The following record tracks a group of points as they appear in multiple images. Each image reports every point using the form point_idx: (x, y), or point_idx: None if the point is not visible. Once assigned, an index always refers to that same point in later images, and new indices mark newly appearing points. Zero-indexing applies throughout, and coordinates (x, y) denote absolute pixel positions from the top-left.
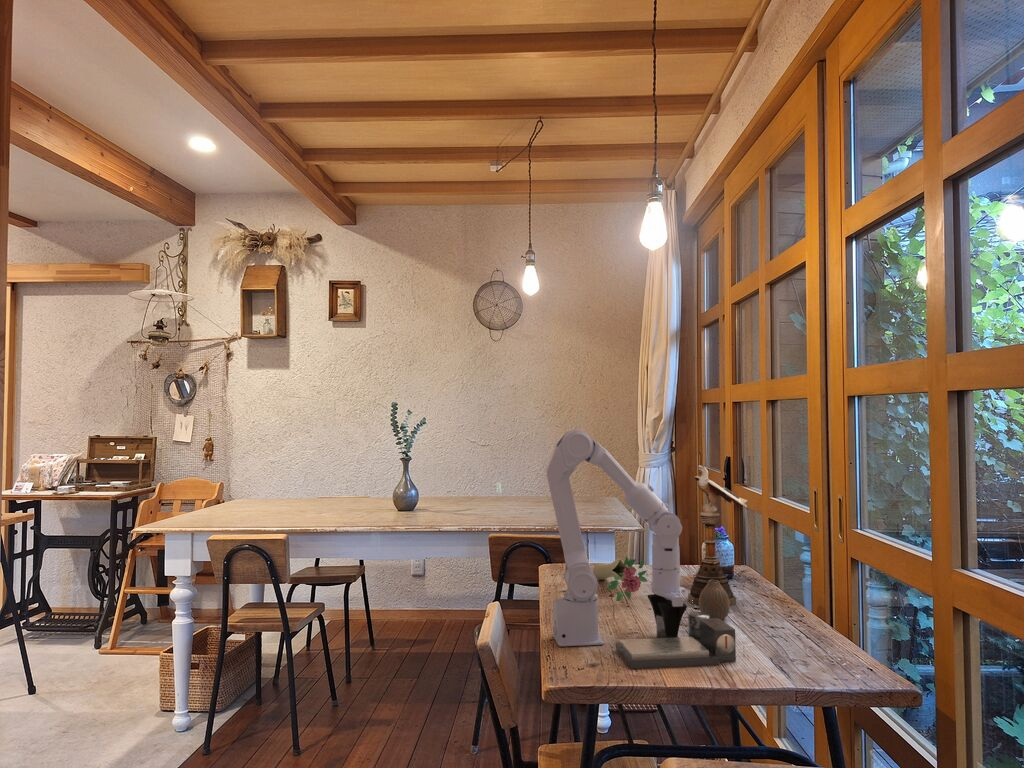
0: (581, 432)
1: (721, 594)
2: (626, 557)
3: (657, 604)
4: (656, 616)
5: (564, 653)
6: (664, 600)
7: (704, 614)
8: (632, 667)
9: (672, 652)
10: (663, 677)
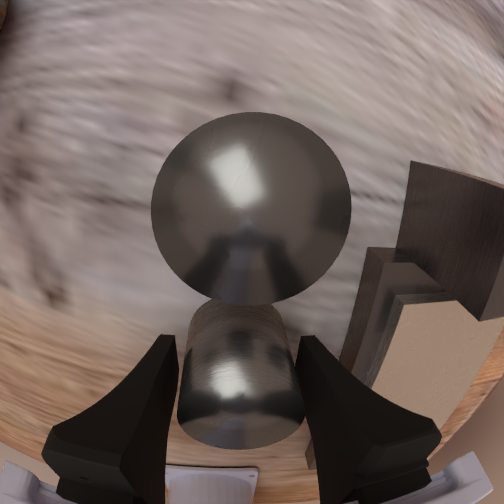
0: None
1: None
2: None
3: (160, 471)
4: (235, 448)
5: (287, 495)
6: (148, 472)
7: (255, 158)
8: None
9: (470, 384)
10: (479, 382)
